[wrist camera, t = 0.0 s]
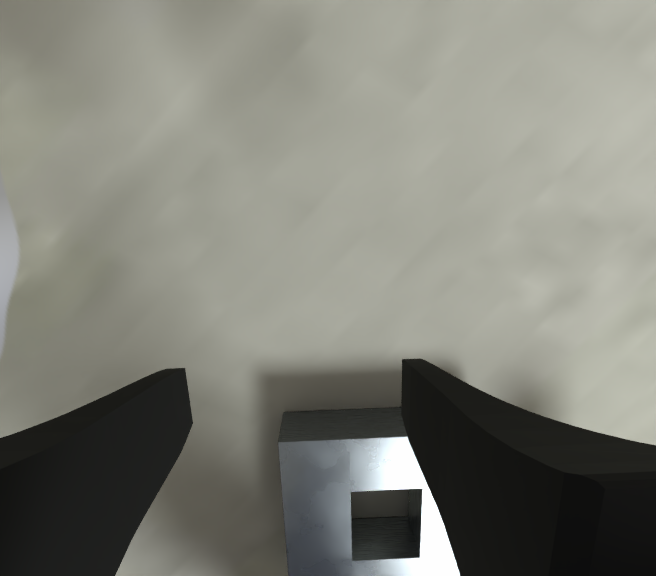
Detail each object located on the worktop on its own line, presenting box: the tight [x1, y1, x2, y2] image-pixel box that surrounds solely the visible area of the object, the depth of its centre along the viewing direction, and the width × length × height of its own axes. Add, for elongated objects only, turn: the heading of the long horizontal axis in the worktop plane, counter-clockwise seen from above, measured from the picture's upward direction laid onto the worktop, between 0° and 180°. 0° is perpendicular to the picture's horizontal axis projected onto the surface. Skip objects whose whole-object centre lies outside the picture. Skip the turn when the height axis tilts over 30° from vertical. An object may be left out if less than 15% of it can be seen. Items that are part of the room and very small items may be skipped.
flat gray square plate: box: [278, 407, 460, 576], centre depth 22 cm, size 13×13×3 cm
